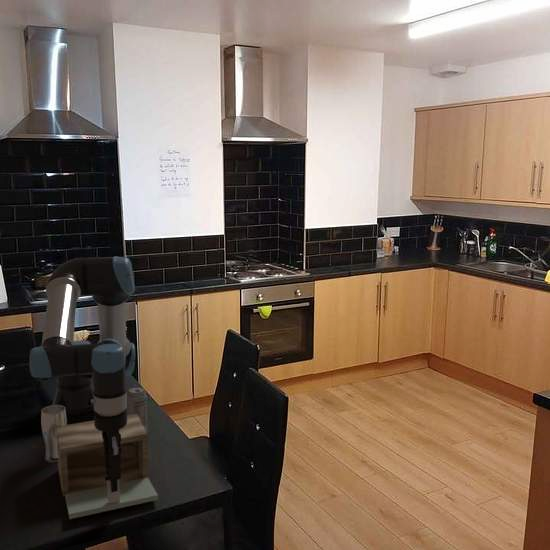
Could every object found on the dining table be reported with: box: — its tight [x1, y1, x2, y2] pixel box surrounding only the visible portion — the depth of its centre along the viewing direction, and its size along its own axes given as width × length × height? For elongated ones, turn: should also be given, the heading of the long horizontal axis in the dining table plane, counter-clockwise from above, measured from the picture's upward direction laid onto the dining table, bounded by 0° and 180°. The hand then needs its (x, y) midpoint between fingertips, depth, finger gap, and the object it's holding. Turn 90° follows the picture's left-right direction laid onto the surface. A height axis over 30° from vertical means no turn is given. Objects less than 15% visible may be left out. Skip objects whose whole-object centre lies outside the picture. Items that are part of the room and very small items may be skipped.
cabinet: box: [56, 414, 150, 497], centre depth 158 cm, size 14×22×14 cm, turn 114°
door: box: [64, 477, 159, 520], centre depth 146 cm, size 2×21×12 cm
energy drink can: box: [126, 386, 148, 433], centre depth 184 cm, size 6×6×15 cm
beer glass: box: [40, 404, 68, 464], centre depth 168 cm, size 7×7×15 cm
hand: (113, 500), depth 141 cm, fingers closed
